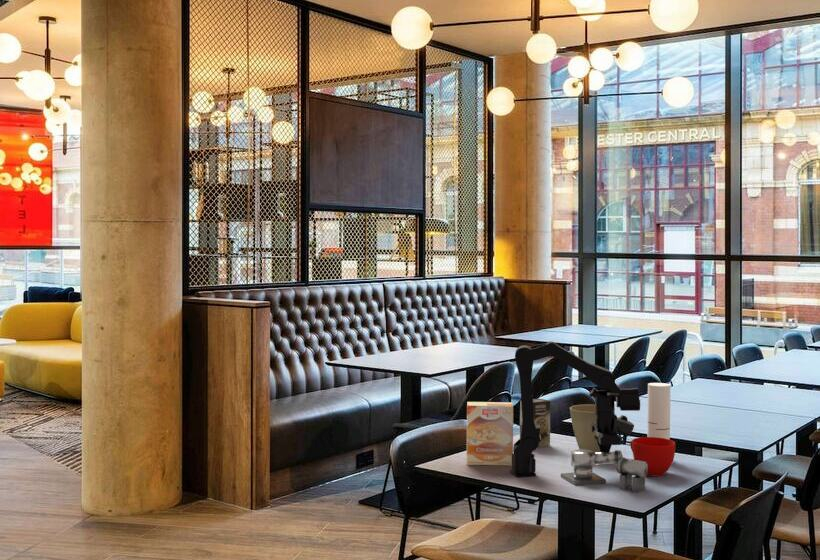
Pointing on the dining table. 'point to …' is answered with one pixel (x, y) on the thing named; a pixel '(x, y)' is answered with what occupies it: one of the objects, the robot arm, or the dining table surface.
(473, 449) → the coffeecake box
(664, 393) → the cylindrical container
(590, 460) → the elbow
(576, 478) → the flange plate
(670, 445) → the red bowl
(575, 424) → the plant pot
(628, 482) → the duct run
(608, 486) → the dining table surface
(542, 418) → the coffee box
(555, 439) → the dining table surface
